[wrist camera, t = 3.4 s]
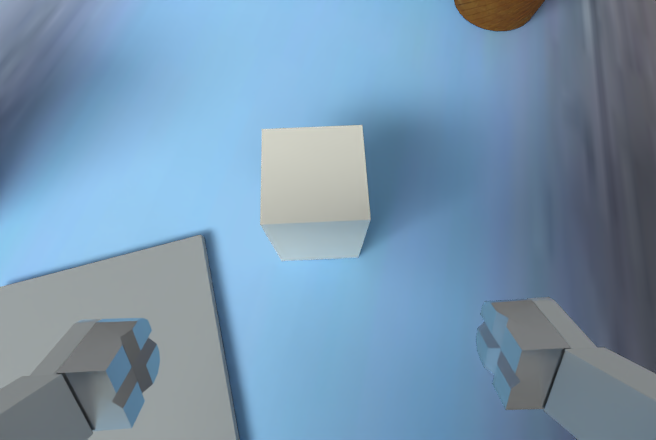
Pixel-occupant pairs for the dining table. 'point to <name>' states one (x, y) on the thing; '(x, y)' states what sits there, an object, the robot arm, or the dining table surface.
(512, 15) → the disposable coffee cup
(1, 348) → the mat
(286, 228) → the cream white rectangular block
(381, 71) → the dining table surface
